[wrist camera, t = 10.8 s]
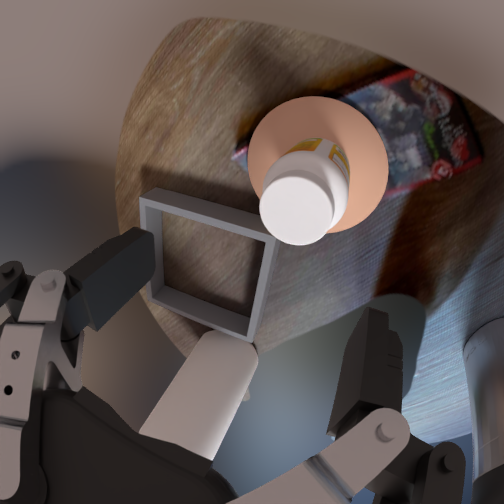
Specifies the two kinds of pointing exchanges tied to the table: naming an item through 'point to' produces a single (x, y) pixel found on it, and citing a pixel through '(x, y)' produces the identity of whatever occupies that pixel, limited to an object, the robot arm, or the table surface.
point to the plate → (331, 128)
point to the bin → (220, 218)
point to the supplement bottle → (305, 191)
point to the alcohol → (204, 394)
